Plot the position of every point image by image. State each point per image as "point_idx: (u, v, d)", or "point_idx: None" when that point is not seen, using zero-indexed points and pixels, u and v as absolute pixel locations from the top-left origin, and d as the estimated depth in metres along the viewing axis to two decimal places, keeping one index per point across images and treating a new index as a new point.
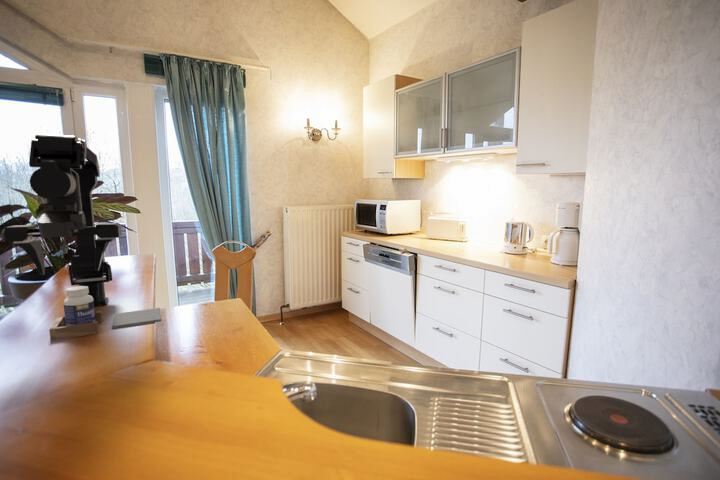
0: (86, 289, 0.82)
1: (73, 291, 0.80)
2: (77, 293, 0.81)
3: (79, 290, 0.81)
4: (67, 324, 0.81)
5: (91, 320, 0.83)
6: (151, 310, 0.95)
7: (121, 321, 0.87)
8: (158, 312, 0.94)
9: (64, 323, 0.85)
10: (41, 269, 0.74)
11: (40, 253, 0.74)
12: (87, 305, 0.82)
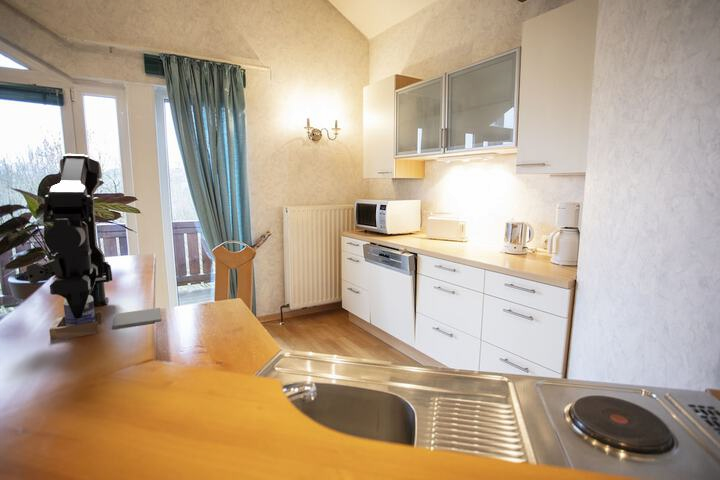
0: None
1: None
2: None
3: None
4: (67, 324, 0.81)
5: (91, 320, 0.83)
6: (151, 310, 0.95)
7: (121, 321, 0.87)
8: (158, 312, 0.94)
9: (64, 323, 0.85)
10: None
11: None
12: (87, 305, 0.82)
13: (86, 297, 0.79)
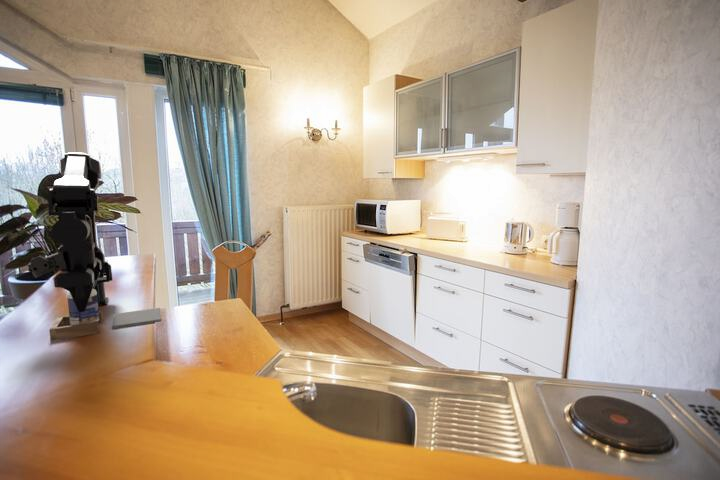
0: None
1: None
2: None
3: None
4: (71, 317, 0.81)
5: (95, 313, 0.83)
6: (151, 310, 0.95)
7: (121, 321, 0.87)
8: (158, 312, 0.94)
9: (64, 323, 0.85)
10: None
11: None
12: (91, 299, 0.82)
13: (90, 290, 0.80)
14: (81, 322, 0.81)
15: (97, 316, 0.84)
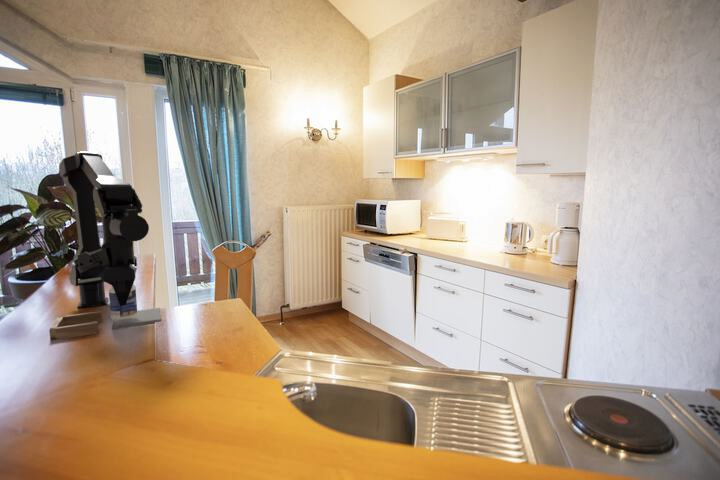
0: None
1: None
2: None
3: None
4: (112, 311, 0.85)
5: (134, 307, 0.87)
6: (151, 310, 0.95)
7: (121, 321, 0.87)
8: (158, 312, 0.94)
9: (64, 323, 0.85)
10: None
11: None
12: (131, 293, 0.86)
13: (131, 285, 0.83)
14: (122, 315, 0.85)
15: (136, 310, 0.88)
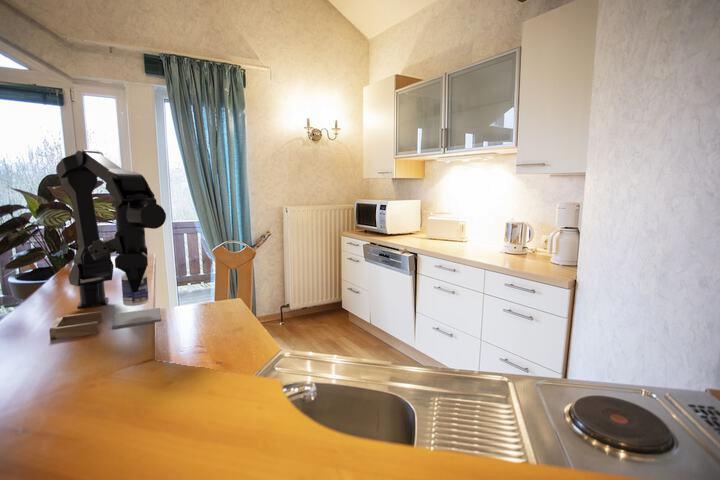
0: None
1: None
2: None
3: None
4: (125, 297, 0.88)
5: (145, 294, 0.90)
6: (151, 310, 0.95)
7: (121, 321, 0.87)
8: (158, 312, 0.94)
9: (64, 323, 0.85)
10: None
11: None
12: (143, 281, 0.89)
13: (143, 272, 0.86)
14: (134, 302, 0.88)
15: (147, 297, 0.91)
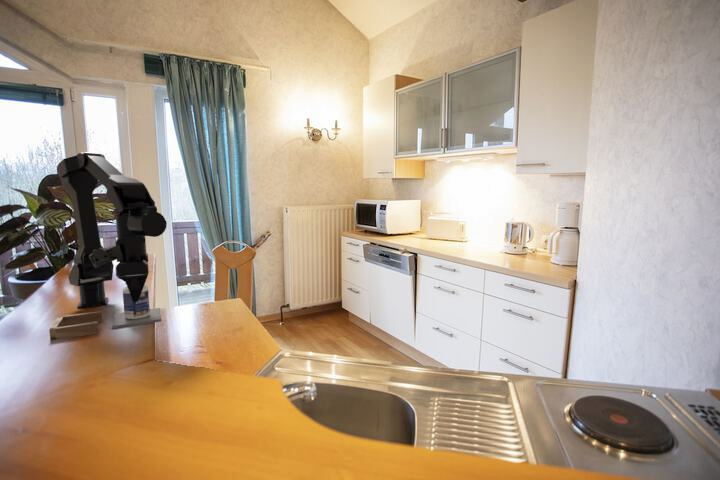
0: None
1: None
2: None
3: None
4: (126, 311, 0.88)
5: (147, 307, 0.90)
6: (151, 310, 0.95)
7: (121, 321, 0.87)
8: (158, 312, 0.94)
9: (64, 323, 0.85)
10: None
11: None
12: (144, 294, 0.89)
13: (144, 282, 0.85)
14: (135, 315, 0.88)
15: (148, 310, 0.91)
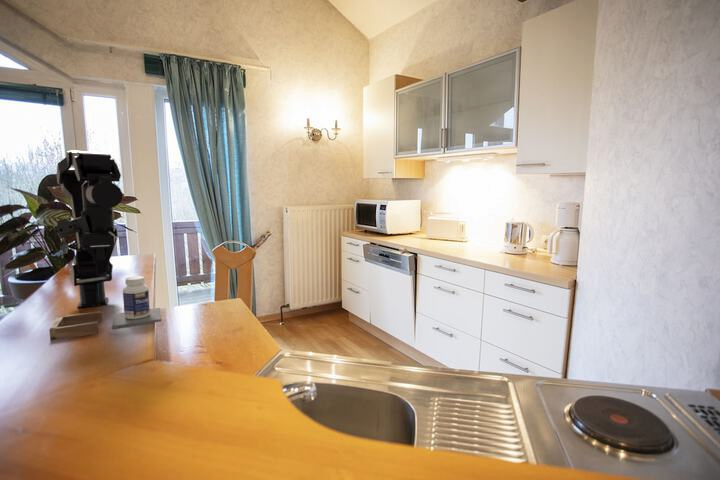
0: (143, 279, 0.90)
1: (132, 280, 0.88)
2: (135, 282, 0.88)
3: (137, 279, 0.88)
4: (126, 311, 0.88)
5: (147, 307, 0.90)
6: (151, 310, 0.95)
7: (121, 321, 0.87)
8: (158, 312, 0.94)
9: (64, 323, 0.85)
10: None
11: None
12: (144, 294, 0.89)
13: (110, 253, 0.84)
14: (135, 315, 0.88)
15: (148, 310, 0.91)
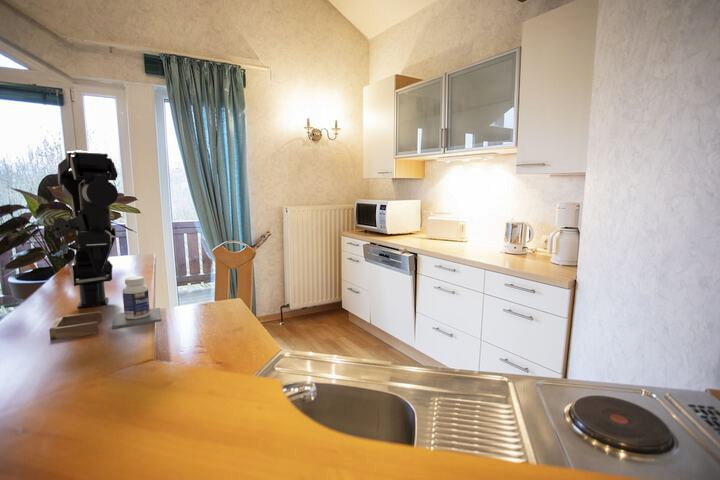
0: (142, 279, 0.89)
1: (132, 281, 0.88)
2: (135, 282, 0.88)
3: (137, 279, 0.88)
4: (126, 311, 0.88)
5: (147, 307, 0.90)
6: (151, 310, 0.95)
7: (121, 321, 0.87)
8: (158, 312, 0.94)
9: (64, 323, 0.85)
10: None
11: None
12: (144, 294, 0.89)
13: (107, 252, 0.84)
14: (135, 315, 0.88)
15: (148, 310, 0.91)
